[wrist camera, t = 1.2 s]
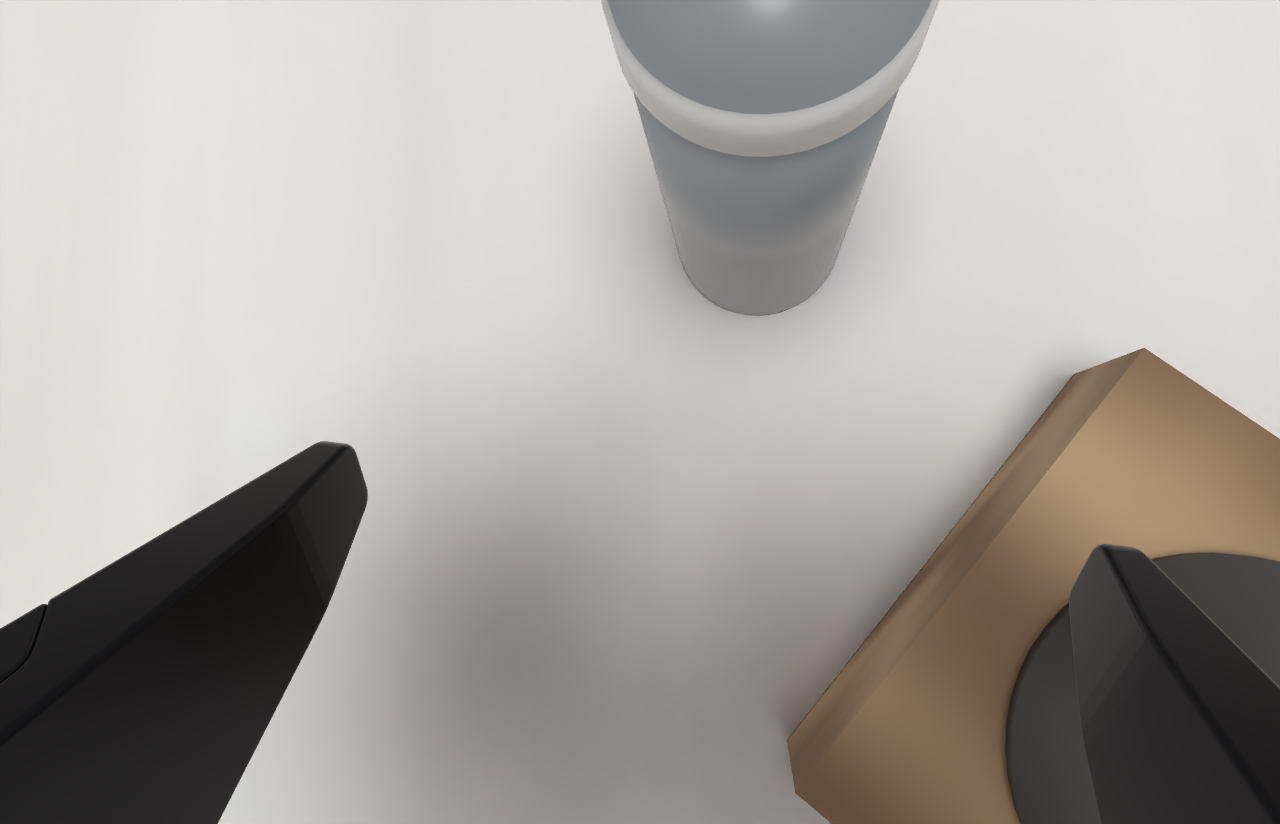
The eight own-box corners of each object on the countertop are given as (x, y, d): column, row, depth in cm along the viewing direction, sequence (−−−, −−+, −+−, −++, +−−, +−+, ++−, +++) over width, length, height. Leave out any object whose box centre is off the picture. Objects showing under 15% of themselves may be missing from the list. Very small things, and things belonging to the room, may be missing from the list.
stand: (1204, 1090, 20) (1333, 1259, 16) (787, 740, 22) (796, 801, 18) (1522, 684, 20) (1742, 737, 16) (1074, 374, 22) (1155, 343, 18)
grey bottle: (773, 351, 23) (804, 177, 11) (641, 254, 24) (523, -16, 12) (878, 218, 24) (1034, -117, 11) (743, 125, 24) (737, -288, 12)
